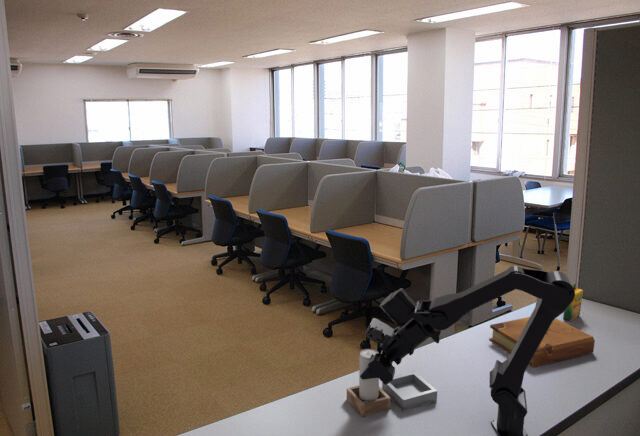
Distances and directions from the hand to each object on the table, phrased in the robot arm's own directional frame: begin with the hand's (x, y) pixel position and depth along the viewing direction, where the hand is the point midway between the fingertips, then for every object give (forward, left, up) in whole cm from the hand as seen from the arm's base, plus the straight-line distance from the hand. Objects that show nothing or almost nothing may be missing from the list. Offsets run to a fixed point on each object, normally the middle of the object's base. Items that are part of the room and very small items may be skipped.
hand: (363, 372), depth 124 cm
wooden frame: (-1, -1, -8) cm, 9 cm away
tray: (+2, -12, -8) cm, 15 cm away
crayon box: (+46, -79, -9) cm, 92 cm away
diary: (+27, -58, -9) cm, 65 cm away
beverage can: (-1, -1, -7) cm, 7 cm away
